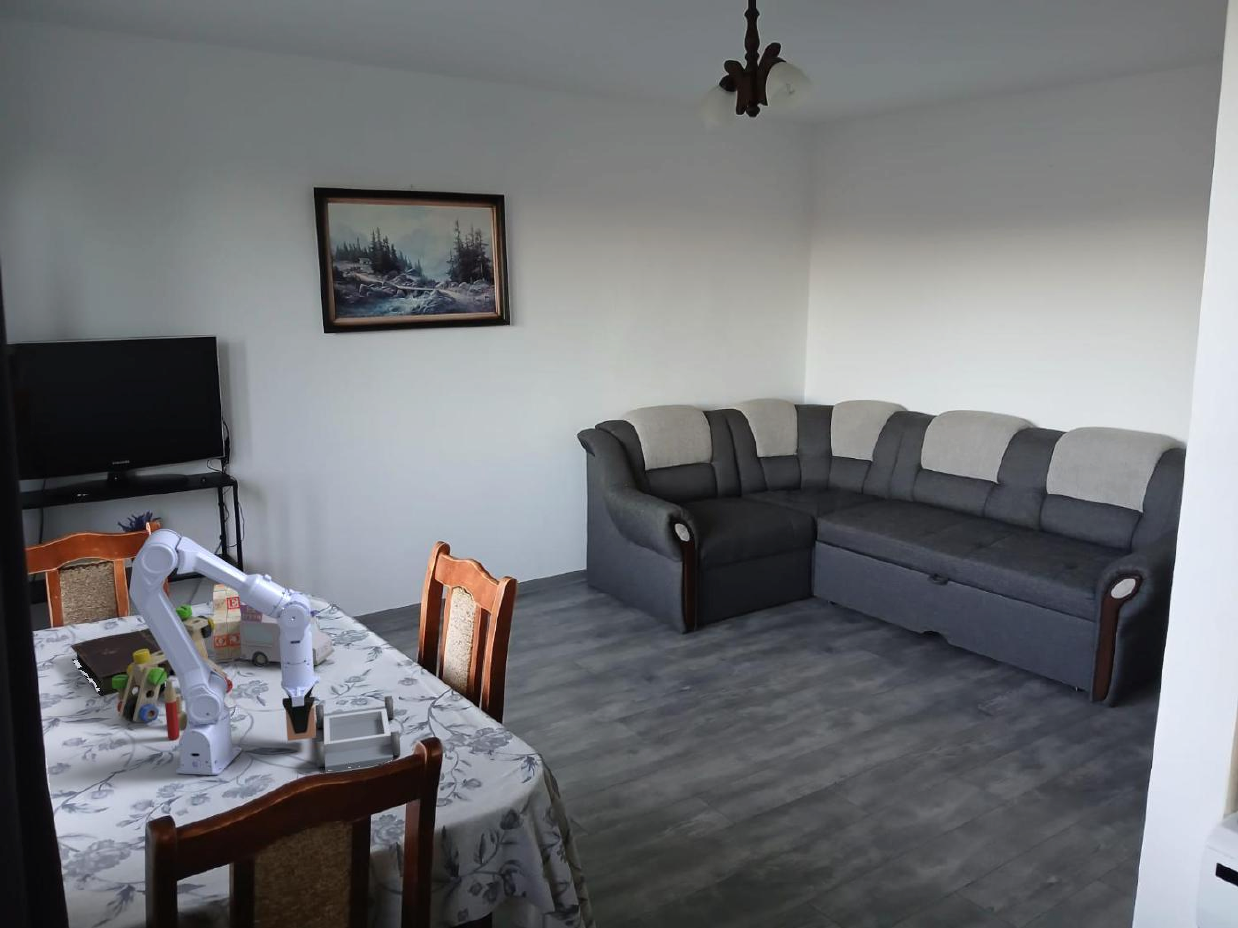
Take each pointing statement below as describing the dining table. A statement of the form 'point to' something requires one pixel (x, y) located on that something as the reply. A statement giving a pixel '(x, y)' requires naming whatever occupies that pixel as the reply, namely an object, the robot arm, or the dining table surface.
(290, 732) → the light orange block
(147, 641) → the diary
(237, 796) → the dining table surface
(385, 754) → the chassis
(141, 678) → the toy construction set
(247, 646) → the toy vehicle
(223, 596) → the stack of blocks
